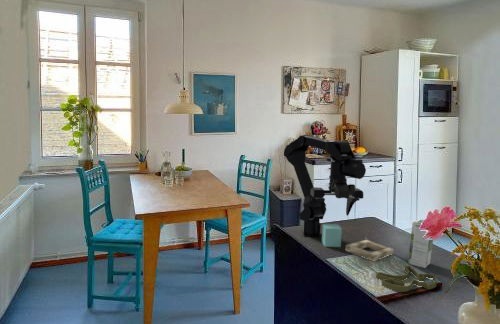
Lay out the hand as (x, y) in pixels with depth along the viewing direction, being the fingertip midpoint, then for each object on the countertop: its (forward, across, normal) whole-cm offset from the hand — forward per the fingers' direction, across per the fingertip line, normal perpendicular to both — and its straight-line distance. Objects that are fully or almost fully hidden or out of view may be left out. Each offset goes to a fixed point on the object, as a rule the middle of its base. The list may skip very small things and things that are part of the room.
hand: (335, 215), depth 141 cm
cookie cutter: (+12, +13, -33) cm, 37 cm away
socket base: (+11, +10, -9) cm, 18 cm away
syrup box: (+11, +24, -19) cm, 33 cm away
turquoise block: (+11, -1, -1) cm, 11 cm away
